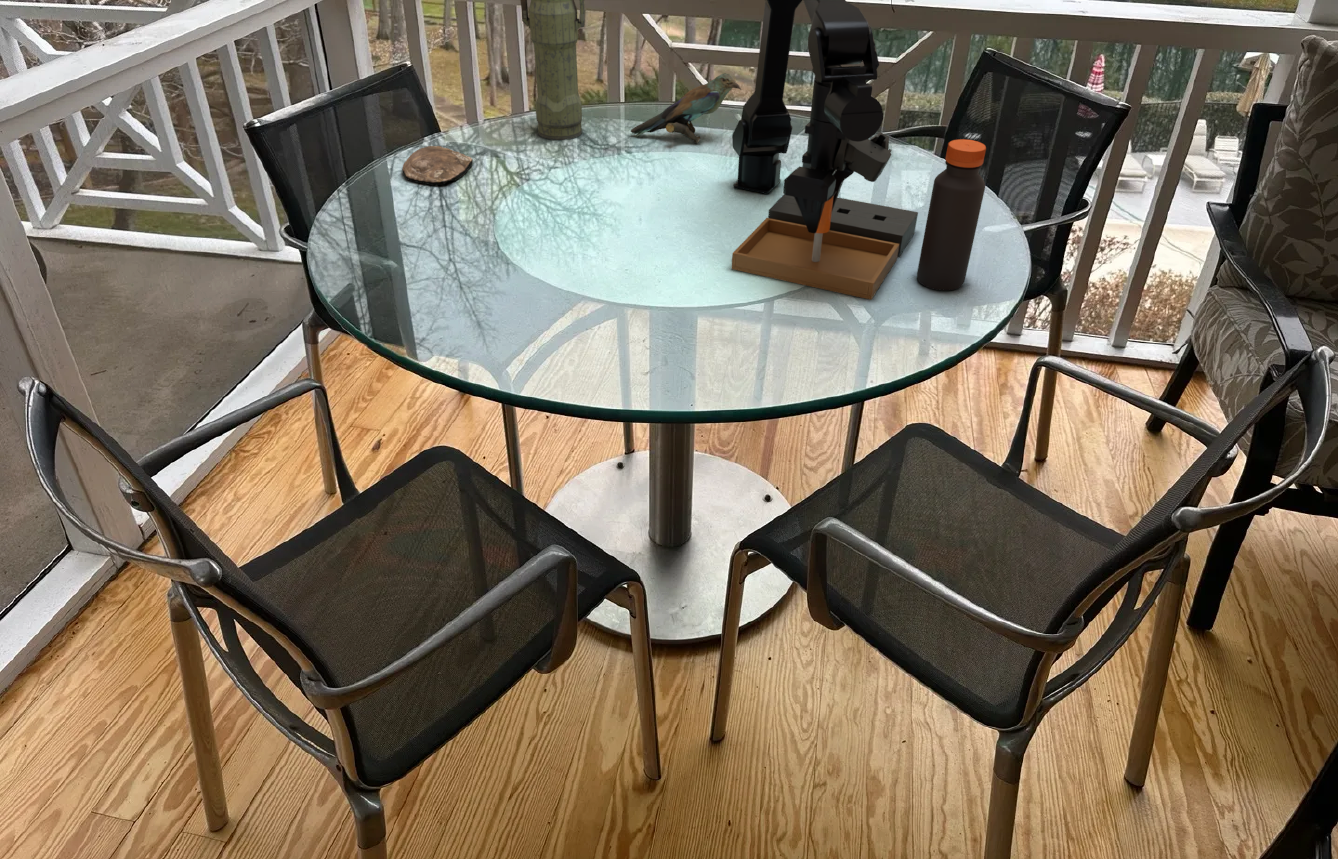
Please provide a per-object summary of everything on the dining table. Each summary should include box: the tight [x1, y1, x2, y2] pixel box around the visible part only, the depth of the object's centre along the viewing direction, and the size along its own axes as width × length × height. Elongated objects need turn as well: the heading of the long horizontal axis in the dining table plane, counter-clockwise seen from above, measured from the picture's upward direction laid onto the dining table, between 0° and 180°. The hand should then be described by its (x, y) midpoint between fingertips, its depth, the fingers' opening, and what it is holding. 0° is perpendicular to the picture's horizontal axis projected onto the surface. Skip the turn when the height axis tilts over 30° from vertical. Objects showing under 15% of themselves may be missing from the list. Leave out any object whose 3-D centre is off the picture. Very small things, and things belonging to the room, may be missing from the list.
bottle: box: [916, 138, 987, 292], centre depth 130 cm, size 7×7×20 cm
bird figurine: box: [630, 72, 742, 145], centre depth 180 cm, size 13×10×20 cm
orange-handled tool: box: [812, 196, 834, 262], centre depth 137 cm, size 3×3×11 cm
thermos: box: [519, 0, 586, 141], centre depth 176 cm, size 9×12×35 cm
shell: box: [401, 145, 474, 186], centre depth 167 cm, size 12×13×4 cm
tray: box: [731, 217, 899, 301], centre depth 139 cm, size 21×14×3 cm
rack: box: [767, 193, 919, 258], centre depth 149 cm, size 10×21×4 cm, turn 64°
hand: (819, 223), depth 136 cm, fingers open, 6 cm apart
